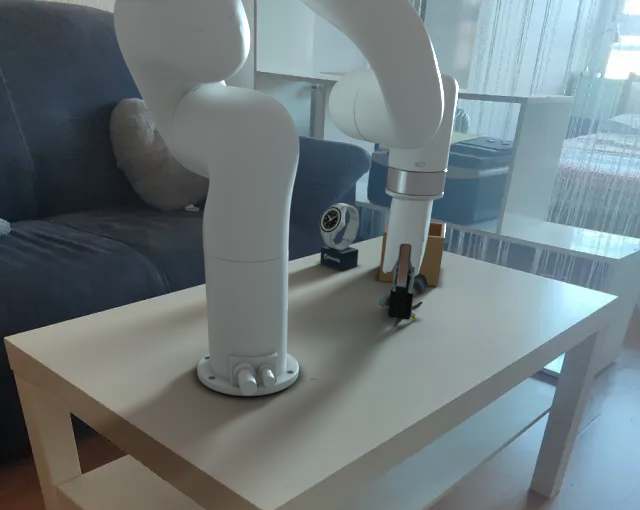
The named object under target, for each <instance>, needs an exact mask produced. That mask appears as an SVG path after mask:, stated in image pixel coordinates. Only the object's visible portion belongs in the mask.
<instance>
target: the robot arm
mask: <svg viewBox="0 0 640 510" xmlns="http://www.w3.org/2000/svg"><path fill="white" fill-rule="evenodd" d="M300 2H302V3H303V4H304V5H305V6H306V7H307V8H309V9H310V10H311V12H313V13H314V14H316V15H317V16H319V17H320V18H321V19H323V20H325V21H326V22H327V23H329V24H331V25H332V26H333V27H335V28H336V29H338V30H339V31H340V32H341V33H343V34H344V35H345V36H346V37H347V38H348V39H349V40H350V41H351V42H352V44H354V45H355V46H356V48H357V49H358V50H359V51H360V52H361V54H362V55H363V57H364V59H366V61H367V63H368V64H369V66H370V68H358V69H354V70H350V71H349V72H347V73H345V74H343V75H342V76H341V77H340V78H339V79H338V80H337V81H336V82H335V84H334V85H333V86H332V89H331V90H330V93H329V98H328V113H329V115H330V119H331V121H332V123H333V125H334V126H335V127H336V128H337V129H338V131H340V132H341V133H342V134H344V135H345V136H347V137H350V138H352V139H355V140H358V141H363V142H368V143H371V144H372V143H373V144H377V145H379V144H380V145H383V146H387V147H389V149H388V159H387V160H388V161H387V168H386V169H387V171H386V181H385V189H384V190H385V191H384V193H385V194H386V195H388V196H390V197H392V198H391V202H390V208H389V209H390V210H389V215H388V220H389V222H388V221H387V223H388V230H387V239H386V247H385V255H384V263H383V272H384V273H385V274H387V272H391V271H392V269H393V267H394V273H393V274H394V275H393V282H392V286H391V289H390V291H389V292H390V301H389V306H388V311H387V316H388V318H393V319H396V318H399V319H402V320H410V318H411V317H410V316H411V311H412V306H413V301H414V299H413V296H414V289H412V288H413V284H414V277H415V276H416V275H418V273H419V270H420V266H421V263H422V259H423V256H424V252H425V247H426V242H427V237H428V231H429V225H430V222H431V217H432V210H433V203H434V201H436V200H440V199H443V198H444V192H445V186H446V185H445V184H446V180H447V179H446V178H447V173H448V172H447V171H448V170H447V169H448V164H449V157H450V150H451V144H452V137H453V136H452V135H453V128H454V122H455V115H456V108H457V101H458V93H459V85H458V81H457V80H456V79H455V77H453V76H451V75H449V74H444V73H440V70H439V67H438V66H439V65H438V61H437V58H436V54H435V50H434V46H433V42H432V39H431V36H430V34H429V32H428V30H427V27H426V25H425V23H424V21H423V19H422V17H421V16H420V14H419V12H418V11H417V9H416V8H415V6H414V5H413V3H412V2H411V1H410V0H300ZM113 25H114V32H115V37H116V40H117V44H118V48H119V50H120V53H121V55H122V58H123V60H124V63H125V65H126V66H127V69H128V71H129V73H130V75H131V77H132V79H133V81H134V84H135V86H136V89H138V92H139V94H140V96H141V98H142V101H143V102H144V105H145V106H146V107H145V108H146V109H147V111H148V114H149V115H150V117H151V119H152V121H153V123H154V125H155V127H156V129H157V131H158V134H159V135H160V137H161V139H162V141H163V143H164V145H165V146H166V148H167V150H168V151H169V152H170V154H171V156H172V157H173V158H174V159H175V160H176V161H177V162H178V163H179V164H180V165H181V166H182V167H184V168H185V169H187V170H188V171H190V172H192V173H194V174H197V175H199V176H201V177H204V178H207V179H208V181H209V182H208V183H209V184H208V189H207V196H206V200H205V204H204V210H203V214H202V215H203V216H202V244H203V245H202V248H203V258H204V259H203V260H204V261H203V262H204V263H203V264H204V278H205V279H204V281H205V299H206V300H205V301H206V319H207V333H208V335H207V337H208V339H207V340H208V353H206V354H204V355H203V356H202V357H201V358H200V359H199V360H198V362H197V365H196V370H197V377H198V380H199V381H200V382H201V383H202V384H203V385H204V386H206V387H207V388H209V389H211V390H213V391H215V392H218V393H222V394H226V395H231V396H238V397H239V396H240V397H257V396H264V395H265V396H266V395H270V394H274V393H277V392H280V391H283V390H285V389H287V388H289V387H290V386H291V385H292V384H294V383H295V382H296V380H297V379H298V377H299V374H300V373H299V369H300V366H299V361H298V360H297V359H296V358H295V357H294V356H293V355H292V354H290V353H289V352H288V306H289V305H288V303H289V301H288V300H289V299H288V298H289V256H290V255H289V253H290V252H289V243H290V242H289V240H290V239H289V237H290V235H289V234H290V216H291V206H292V205H291V204H292V198H293V190H294V186H295V180H296V175H297V171H298V166H299V160H300V137H299V131H298V129H297V125H296V123H295V120H294V119H293V117H292V114H291V113H290V112H289V111H288V109H287V107H285V106H284V104H282V103H281V102H280V101H279V100H278V99H276V98H274V97H273V96H272V95H270V94H267V93H265V92H262V91H259V90H256V89H252V88H247V87H240V86H234V85H227V84H226V82H225V81H226V80H228V79H230V78H233V77H234V76H235V75H236V74H238V72H240V70H241V69H242V68H243V67H244V64H245V63H246V61H247V59H248V57H249V53H250V47H251V46H250V45H251V31H250V26H249V21H248V16H247V14H246V11H245V7H244V4H243V1H242V0H114V5H113Z"/></svg>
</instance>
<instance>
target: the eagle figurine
mask: <svg viewBox="0 0 640 510" xmlns="http://www.w3.org/2000/svg"><path fill="white" fill-rule="evenodd" d="M427 285H428V282H427V279H426V276H425V275H423V274H421V273H420V274H419V273H418V275H416V276H415V277H414V284H413V288H412V289H414V296H413V300H414V299H416V298H418V297H419V296H422V295H424V294H425V293H426V291H427V289H428V286H427ZM390 292H391V291H388V292H386V293H384V294H382V295H381V296H379V298H378V300H377V302H378V305H379V306H380V307H382V308H383V307H386V306H387V307H389V301H390ZM422 304H423V301H422V300H421V301H419V302H417V303H416V304H414V305H412V311H411V316H410V318H412V319H413V320H414V321H417V318H416V312H415V311H414V310H417V309H418V308H421V306H422ZM402 321H403V319H399V318H395V321H394V323H393V326H394V327H397V326H398V324H400V323H401V322H402Z"/></svg>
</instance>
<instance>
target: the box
mask: <svg viewBox="0 0 640 510" xmlns="http://www.w3.org/2000/svg"><path fill="white" fill-rule="evenodd" d="M388 222H389V219H388V220H387V223H386V225H385V228H384V230H383V234H382V245H381V255H380V265H379V275H378V281H379V282H391V283H393V275H394V274H393V273H394V267H393V269H392V271H391V272H387V274H385V273H384V272H383V263H384V255H385V247H386V239H387V230H388ZM446 226H447V223H445V222H434V221H430V225H429V231H428V237H427V242H426V247H425V252H424V256H423V259H422V263H421V266H420V270H419V274H420V273H421V274H423V275H425V276H426V279H427V282H428V285H427V287H428V286H429V287H438V286H439V279H440V273H441V267H442V259H443V253H444V245H445V239H446V228H447V227H446Z"/></svg>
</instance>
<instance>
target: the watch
mask: <svg viewBox="0 0 640 510" xmlns="http://www.w3.org/2000/svg"><path fill="white" fill-rule="evenodd" d="M347 211H348V214H349V222H347V225H346V222H345V221H346V214H347ZM344 227H346V229H345V231H344V233H343V236H342V240H341V241H340V242H339V243H338V242H335V241H334V240H335V239H336V238H337V235H338V234H339V232H340V231H342V229H343V228H344ZM359 227H360V214H359V211H358V210H357V208H356V207H355V206H354V205H351V204H347V203H343V202H337V203H334V204H332V205H331V206H329V207H328V208H326V209H325V210H324V211H323V212H322V214H321V215H320V218H319V228H320V235H321V237H322V240H323V243H324V244H325V245H323V246H321V247H320V263H319V264H322V265H325V266H327V267H330V268H333V269H336V270H339V271H345V270H349V269H352V268H355V267H358V261H359V249H358V248H355V247H351V246H350V245H352V244H353V243H354V241H355V239H356V238H357V237H356V236H357V234H358V231H359Z"/></svg>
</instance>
